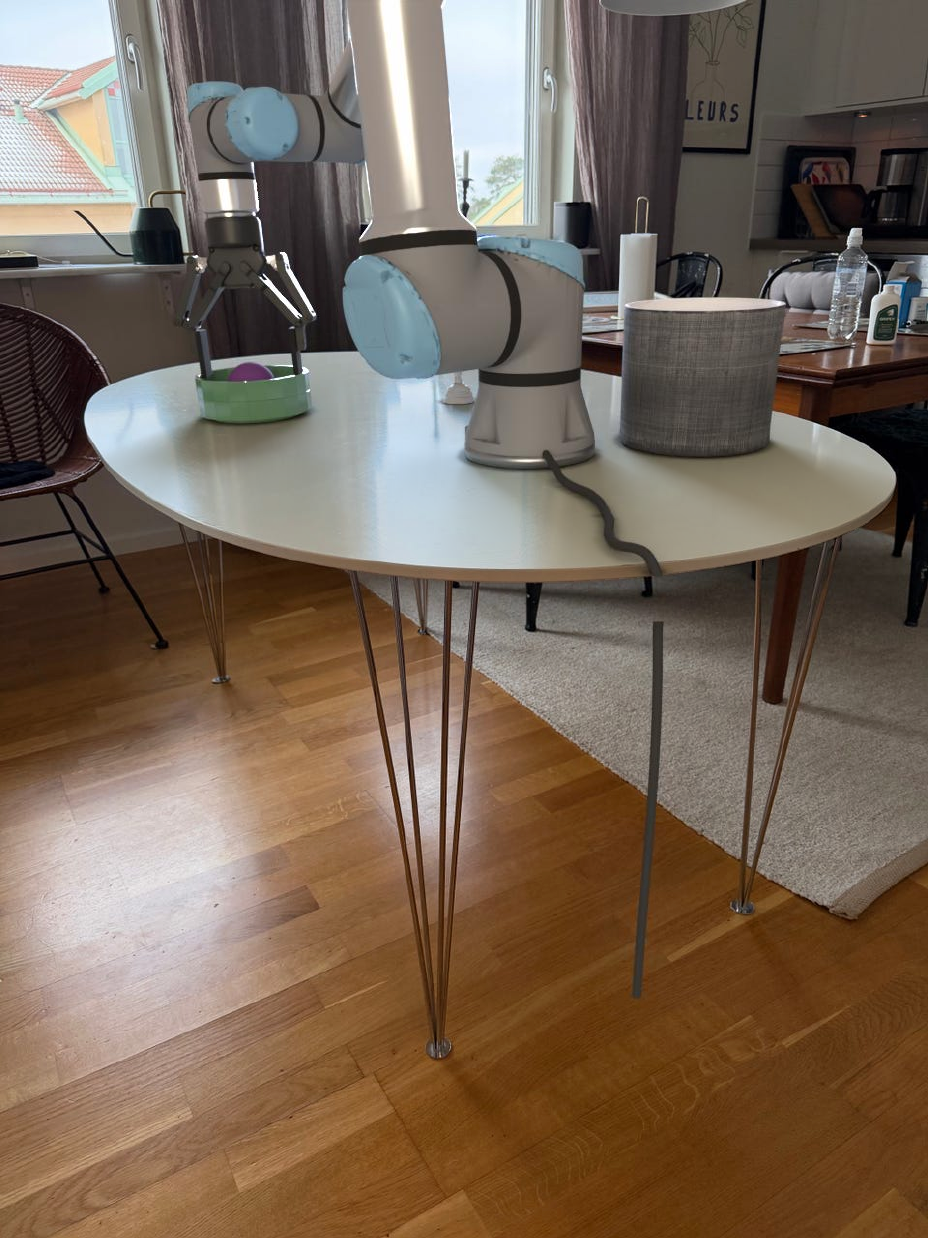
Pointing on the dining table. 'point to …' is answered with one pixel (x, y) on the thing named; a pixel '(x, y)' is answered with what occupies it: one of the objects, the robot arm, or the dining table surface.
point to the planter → (699, 375)
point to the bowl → (254, 396)
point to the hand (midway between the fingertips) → (252, 375)
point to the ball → (250, 372)
